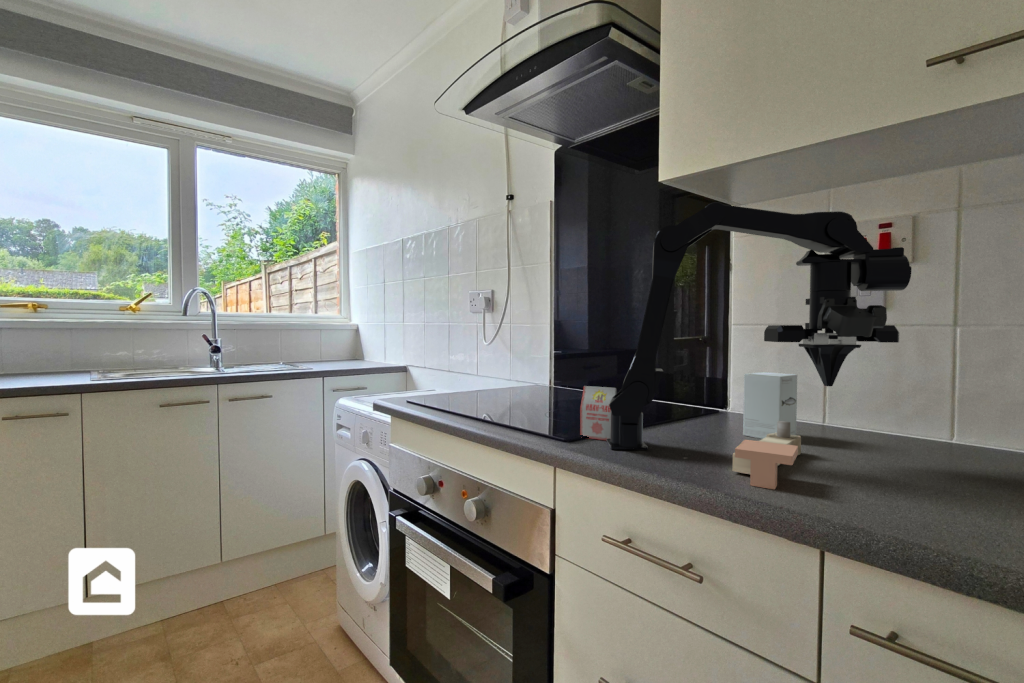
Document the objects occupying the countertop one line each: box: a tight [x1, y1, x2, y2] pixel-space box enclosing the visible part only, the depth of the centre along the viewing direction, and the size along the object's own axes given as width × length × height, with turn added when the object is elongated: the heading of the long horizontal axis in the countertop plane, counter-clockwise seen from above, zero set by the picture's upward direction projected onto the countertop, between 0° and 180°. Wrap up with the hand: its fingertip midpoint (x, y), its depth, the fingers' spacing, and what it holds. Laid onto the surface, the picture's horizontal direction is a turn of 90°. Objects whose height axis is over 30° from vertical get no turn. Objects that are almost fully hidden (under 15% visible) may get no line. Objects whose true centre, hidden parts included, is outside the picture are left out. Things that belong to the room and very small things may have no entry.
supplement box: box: [742, 371, 798, 440], centre depth 99 cm, size 7×7×13 cm
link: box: [732, 421, 802, 475], centre depth 80 cm, size 21×5×5 cm, turn 136°
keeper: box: [734, 439, 799, 490], centre depth 70 cm, size 7×7×5 cm
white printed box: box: [579, 385, 618, 442], centre depth 98 cm, size 4×7×10 cm, turn 57°
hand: (828, 386), depth 82 cm, fingers closed
